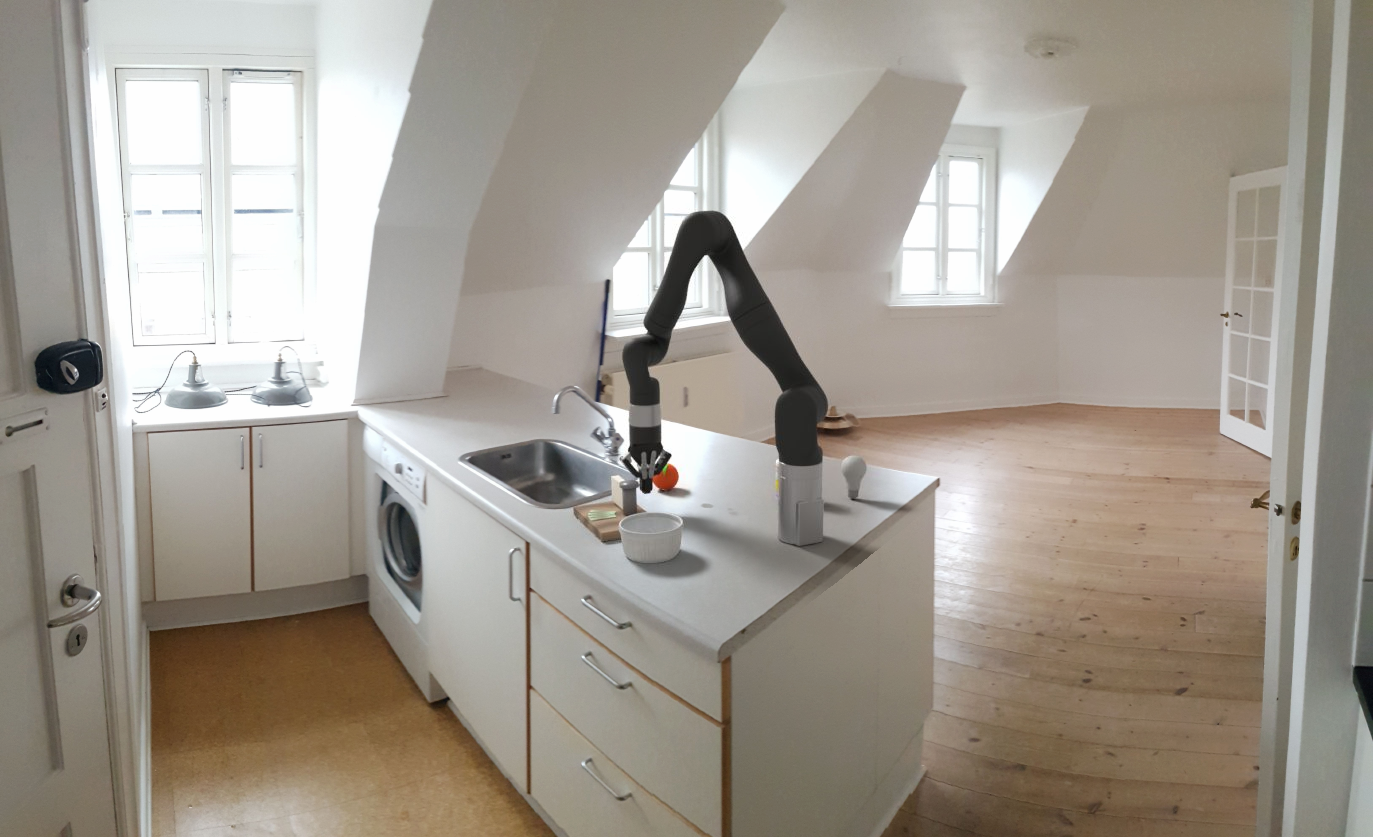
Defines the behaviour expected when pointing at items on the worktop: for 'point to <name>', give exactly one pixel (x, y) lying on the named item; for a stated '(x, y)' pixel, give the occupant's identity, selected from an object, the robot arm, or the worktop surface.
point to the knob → (625, 494)
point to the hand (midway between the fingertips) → (646, 492)
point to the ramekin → (651, 536)
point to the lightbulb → (853, 474)
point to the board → (603, 519)
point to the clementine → (666, 478)
